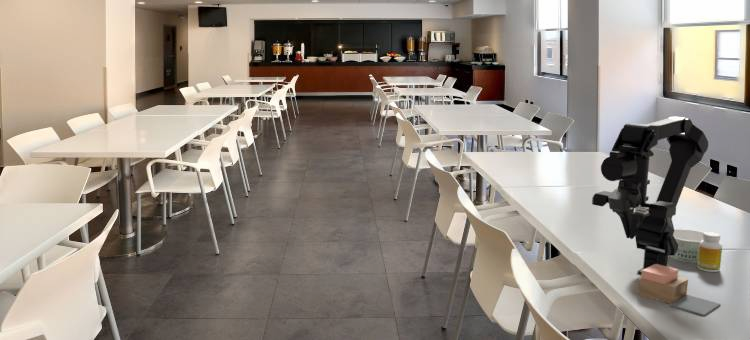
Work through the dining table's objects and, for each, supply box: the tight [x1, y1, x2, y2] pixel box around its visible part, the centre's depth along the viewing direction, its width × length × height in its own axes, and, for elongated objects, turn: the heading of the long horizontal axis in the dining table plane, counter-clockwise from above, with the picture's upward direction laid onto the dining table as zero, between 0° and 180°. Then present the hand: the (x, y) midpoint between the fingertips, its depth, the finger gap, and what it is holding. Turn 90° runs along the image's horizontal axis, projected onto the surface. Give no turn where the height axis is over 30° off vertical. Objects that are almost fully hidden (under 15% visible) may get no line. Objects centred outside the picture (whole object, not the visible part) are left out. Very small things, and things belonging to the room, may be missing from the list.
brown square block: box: [637, 276, 689, 305], centre depth 155 cm, size 8×8×4 cm
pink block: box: [640, 264, 679, 284], centre depth 155 cm, size 7×6×2 cm
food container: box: [669, 228, 704, 264], centre depth 182 cm, size 12×12×6 cm
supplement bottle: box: [696, 231, 723, 273], centre depth 172 cm, size 5×5×10 cm
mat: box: [669, 294, 721, 317], centre depth 149 cm, size 9×8×1 cm
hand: (630, 238), depth 159 cm, fingers closed
